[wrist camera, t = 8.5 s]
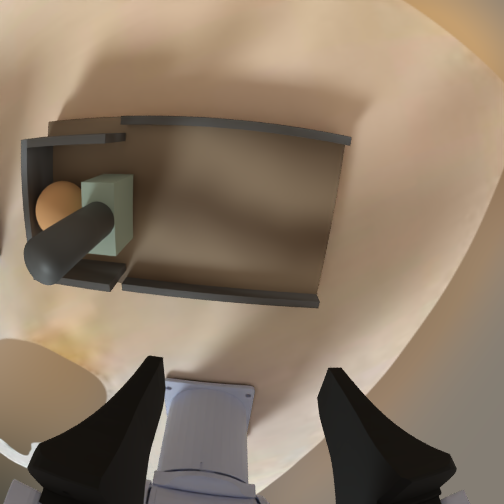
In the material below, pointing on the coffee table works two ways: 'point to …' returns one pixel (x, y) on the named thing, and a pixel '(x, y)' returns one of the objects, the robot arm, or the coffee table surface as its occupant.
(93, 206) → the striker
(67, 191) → the ball
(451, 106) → the coffee table surface
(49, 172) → the tray
